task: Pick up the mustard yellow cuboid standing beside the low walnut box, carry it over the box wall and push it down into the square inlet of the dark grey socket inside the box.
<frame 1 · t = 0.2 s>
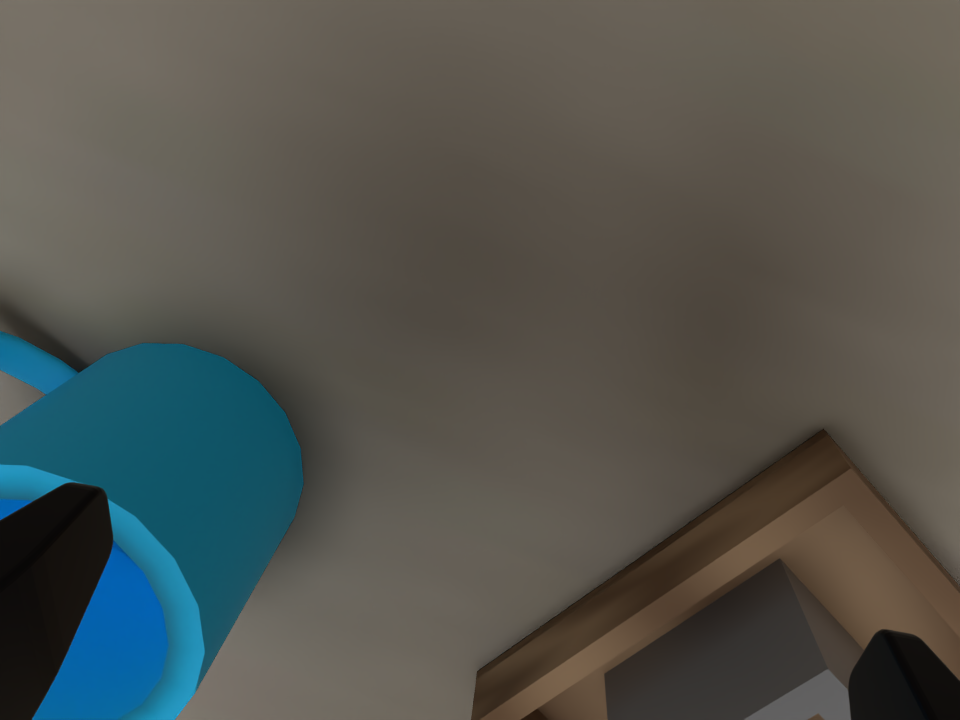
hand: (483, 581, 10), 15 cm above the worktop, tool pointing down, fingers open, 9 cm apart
socket: (755, 687, 28), resting on walled box
walled box: (753, 679, 28), on the worktop
mug: (136, 419, 27), on the worktop
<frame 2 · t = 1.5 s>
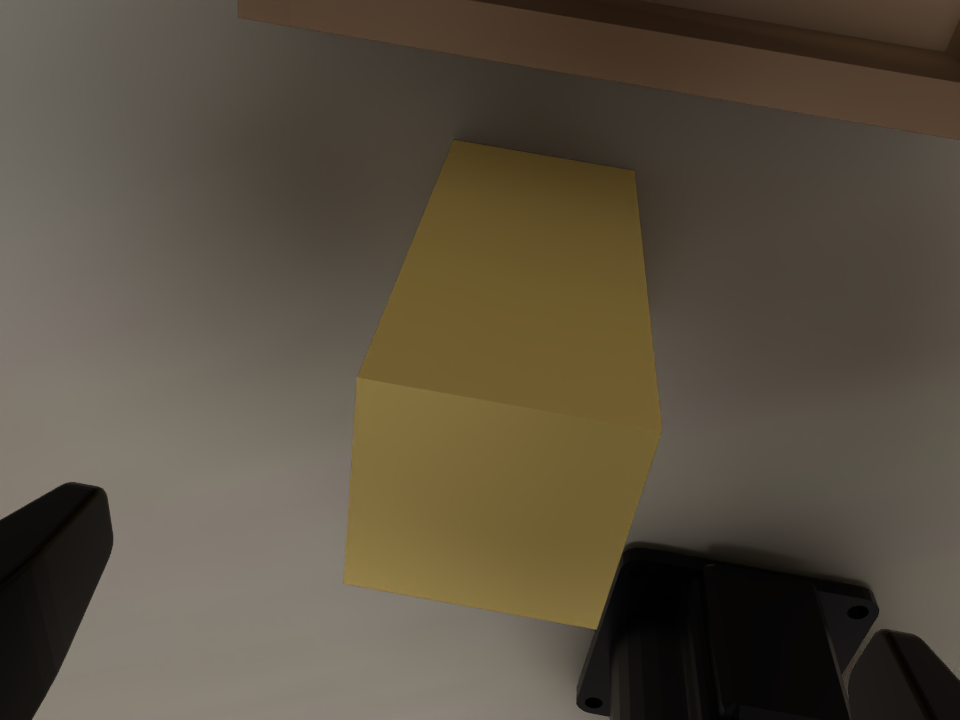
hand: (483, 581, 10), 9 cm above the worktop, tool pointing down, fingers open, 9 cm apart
mustard yellow cuboid: (528, 237, 17), on the worktop
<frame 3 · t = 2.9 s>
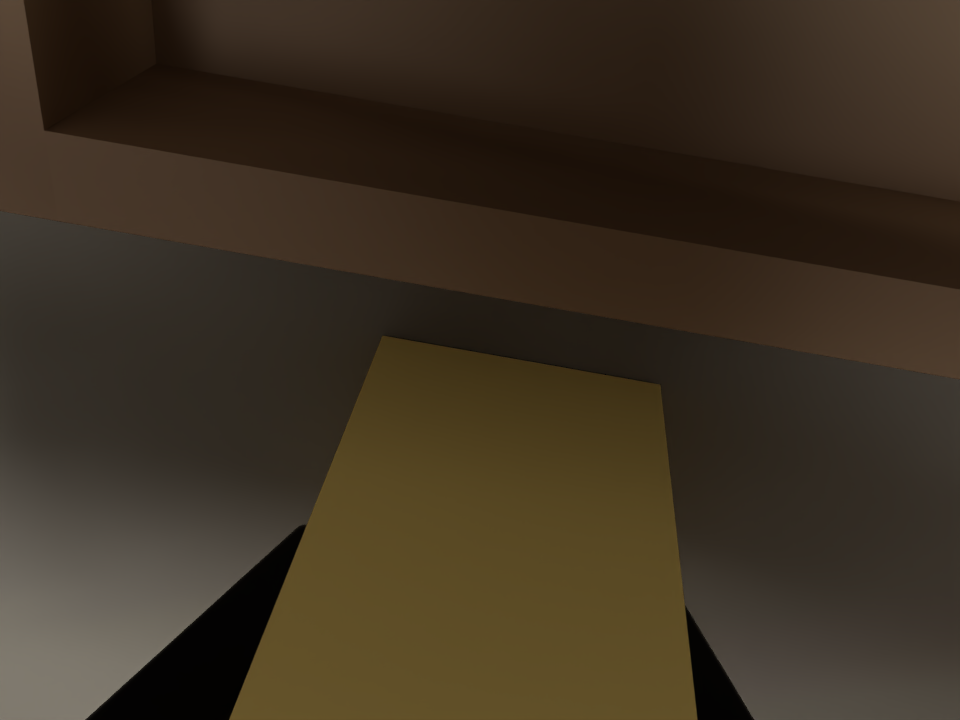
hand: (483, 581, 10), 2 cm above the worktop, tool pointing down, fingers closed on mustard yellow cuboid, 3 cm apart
mustard yellow cuboid: (500, 465, 12), on the worktop, touching gripper
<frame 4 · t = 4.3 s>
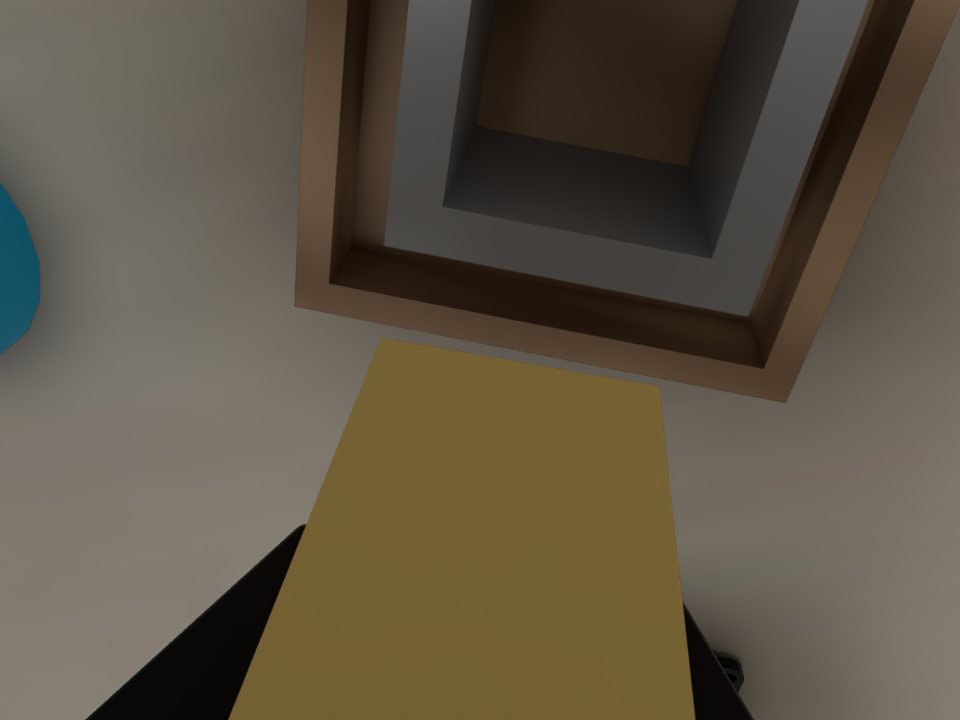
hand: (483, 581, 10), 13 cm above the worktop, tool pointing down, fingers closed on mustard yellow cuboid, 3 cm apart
socket: (606, 34, 18), resting on walled box
walled box: (606, 31, 19), on the worktop
mustard yellow cuboid: (499, 467, 12), point 11 cm above the worktop, touching gripper
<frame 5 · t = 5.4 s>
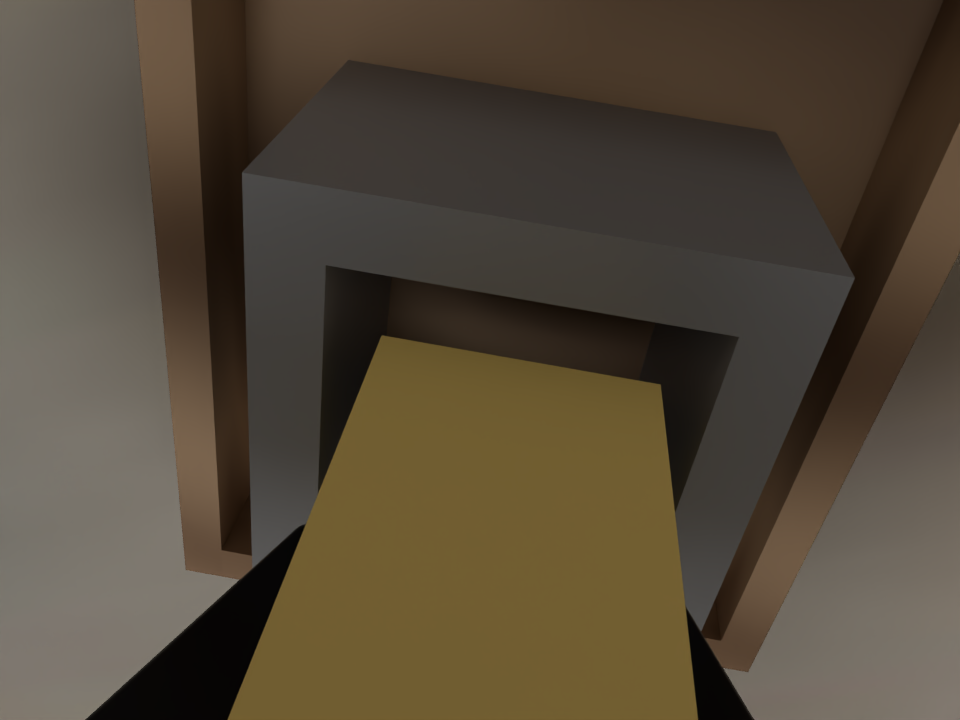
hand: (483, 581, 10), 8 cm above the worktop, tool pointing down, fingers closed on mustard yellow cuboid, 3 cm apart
socket: (525, 284, 16), resting on walled box
walled box: (527, 273, 16), on the worktop
mustard yellow cuboid: (499, 465, 11), point 5 cm above the worktop, touching gripper
when the fingers open (6 cm above the worktop, at t = 6.0 s): mustard yellow cuboid drops 3 cm, resting on walled box.
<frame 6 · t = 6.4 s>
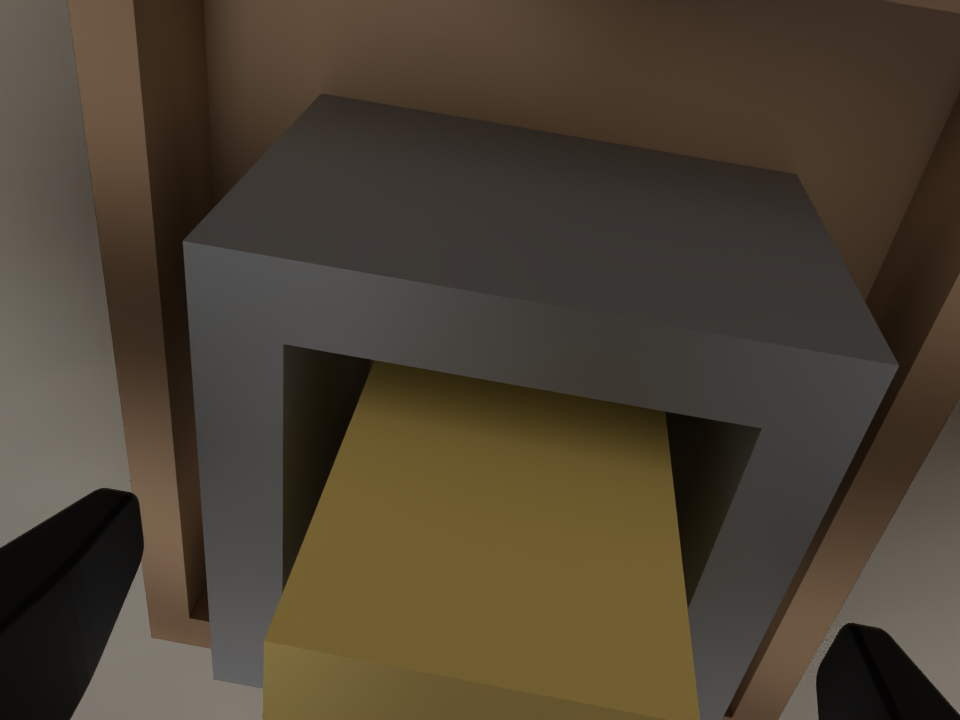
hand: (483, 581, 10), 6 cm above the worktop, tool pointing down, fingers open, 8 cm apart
socket: (519, 334, 14), resting on walled box
walled box: (521, 322, 15), on the worktop
mustard yellow cuboid: (519, 335, 14), resting on walled box
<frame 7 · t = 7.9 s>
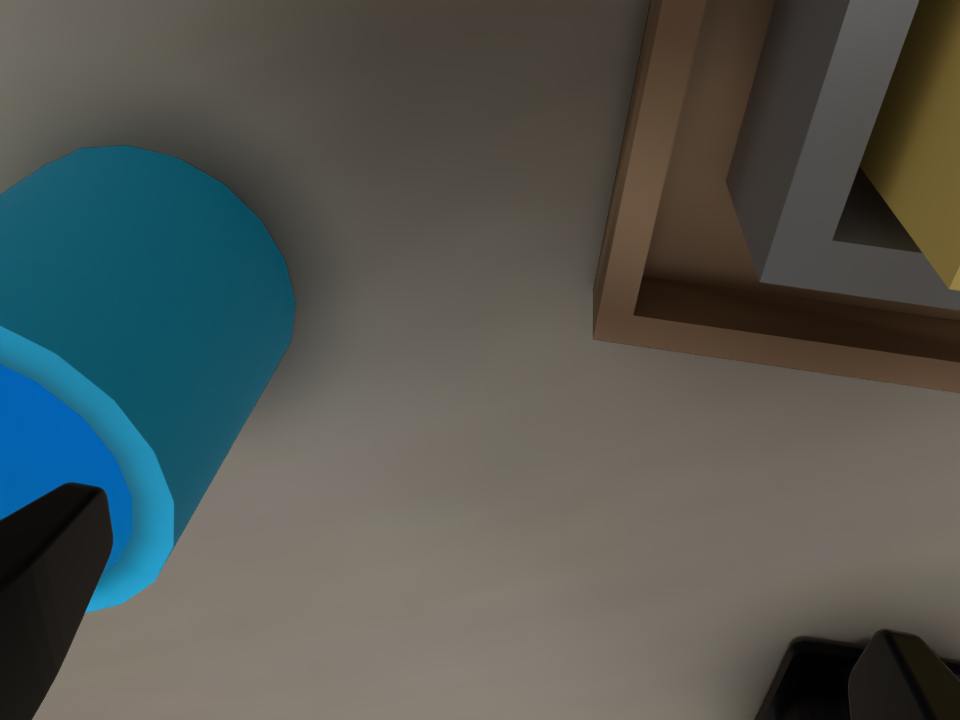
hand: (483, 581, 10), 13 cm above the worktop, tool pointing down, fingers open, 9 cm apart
socket: (936, 46, 18), resting on walled box
walled box: (930, 42, 18), on the worktop
mug: (91, 275, 24), on the worktop
mustard yellow cuboid: (936, 47, 18), resting on walled box
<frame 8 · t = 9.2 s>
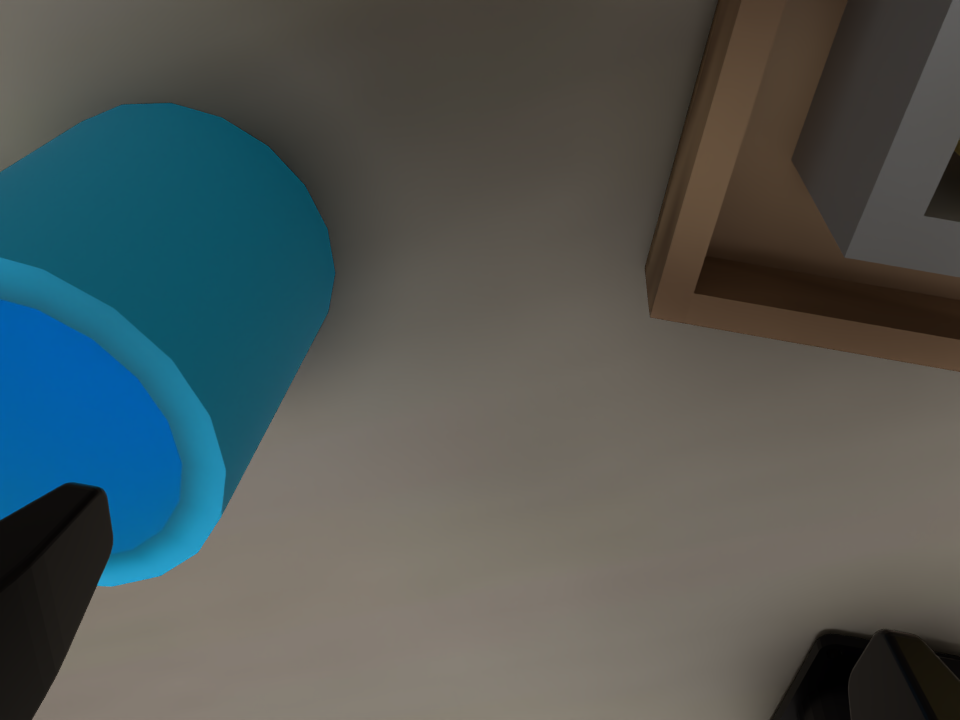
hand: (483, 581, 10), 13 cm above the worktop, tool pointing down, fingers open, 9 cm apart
mug: (123, 239, 23), on the worktop
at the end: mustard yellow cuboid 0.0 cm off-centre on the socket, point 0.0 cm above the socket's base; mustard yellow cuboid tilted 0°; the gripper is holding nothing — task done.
